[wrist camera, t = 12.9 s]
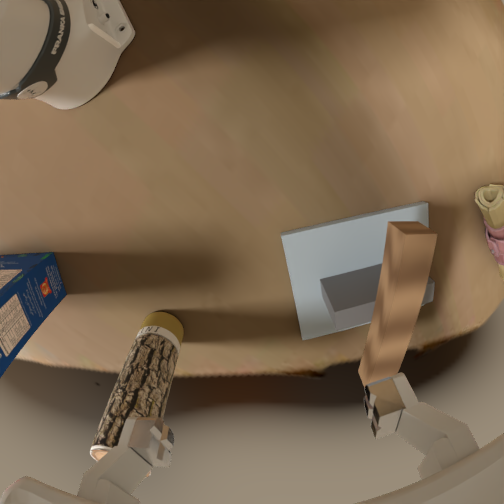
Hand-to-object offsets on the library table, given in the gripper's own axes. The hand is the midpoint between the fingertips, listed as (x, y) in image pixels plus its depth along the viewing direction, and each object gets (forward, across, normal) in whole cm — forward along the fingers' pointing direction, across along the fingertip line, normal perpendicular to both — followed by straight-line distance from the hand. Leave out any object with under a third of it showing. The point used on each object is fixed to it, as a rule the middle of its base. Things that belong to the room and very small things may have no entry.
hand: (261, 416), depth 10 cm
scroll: (+30, -42, +12) cm, 53 cm away
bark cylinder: (+29, +18, +15) cm, 37 cm away
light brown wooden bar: (+20, -14, +13) cm, 28 cm away
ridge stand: (+29, -14, +13) cm, 35 cm away
